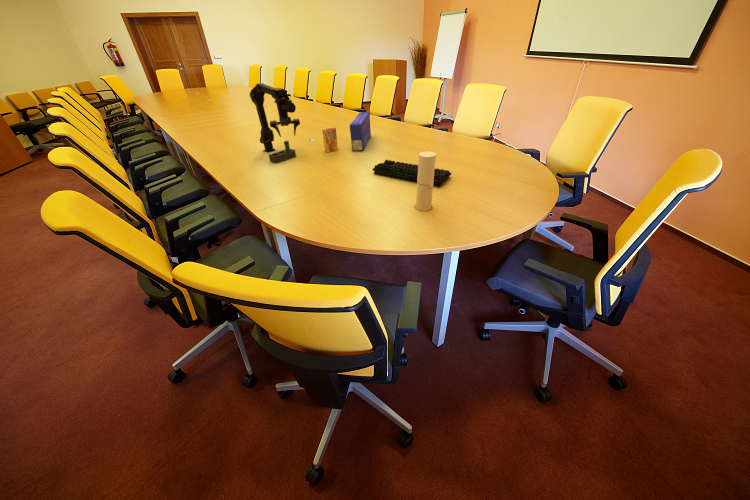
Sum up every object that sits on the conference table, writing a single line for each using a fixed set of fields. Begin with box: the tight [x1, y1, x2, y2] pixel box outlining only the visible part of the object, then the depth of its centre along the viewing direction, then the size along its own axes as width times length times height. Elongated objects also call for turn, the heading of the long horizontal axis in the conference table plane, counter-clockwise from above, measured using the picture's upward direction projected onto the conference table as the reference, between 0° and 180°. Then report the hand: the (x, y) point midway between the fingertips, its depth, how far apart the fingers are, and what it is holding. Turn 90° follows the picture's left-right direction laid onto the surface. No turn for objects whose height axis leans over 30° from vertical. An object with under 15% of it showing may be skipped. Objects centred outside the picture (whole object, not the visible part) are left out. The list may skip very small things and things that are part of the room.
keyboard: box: [372, 159, 452, 188], centre depth 165 cm, size 42×16×5 cm, turn 58°
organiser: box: [268, 148, 297, 164], centre depth 197 cm, size 7×17×4 cm, turn 142°
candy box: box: [322, 126, 339, 153], centre depth 205 cm, size 9×4×15 cm, turn 129°
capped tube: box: [283, 140, 291, 152], centre depth 198 cm, size 3×3×10 cm
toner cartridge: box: [349, 111, 372, 152], centre depth 215 cm, size 39×8×18 cm, turn 172°
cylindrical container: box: [415, 151, 437, 212], centre depth 129 cm, size 7×7×25 cm
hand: (287, 136), depth 192 cm, fingers open, 9 cm apart
